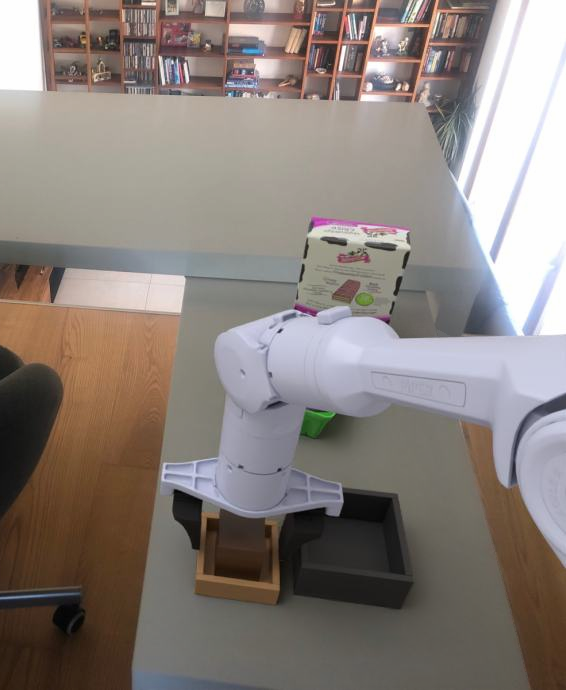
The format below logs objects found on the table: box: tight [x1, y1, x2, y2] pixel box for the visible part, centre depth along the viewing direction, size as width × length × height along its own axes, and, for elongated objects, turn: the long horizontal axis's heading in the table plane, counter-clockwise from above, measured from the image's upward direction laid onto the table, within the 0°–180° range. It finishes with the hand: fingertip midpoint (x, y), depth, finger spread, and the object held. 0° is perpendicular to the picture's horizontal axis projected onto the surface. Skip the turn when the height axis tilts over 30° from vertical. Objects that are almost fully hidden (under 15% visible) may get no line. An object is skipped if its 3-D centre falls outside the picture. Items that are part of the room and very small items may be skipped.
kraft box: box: [193, 511, 281, 606], centre depth 64 cm, size 7×7×2 cm
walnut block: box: [214, 508, 266, 582], centre depth 62 cm, size 4×4×5 cm
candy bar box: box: [293, 216, 412, 326], centre depth 83 cm, size 11×5×16 cm, turn 73°
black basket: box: [291, 486, 415, 610], centre depth 63 cm, size 9×9×4 cm
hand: (239, 545), depth 62 cm, fingers open, 7 cm apart
